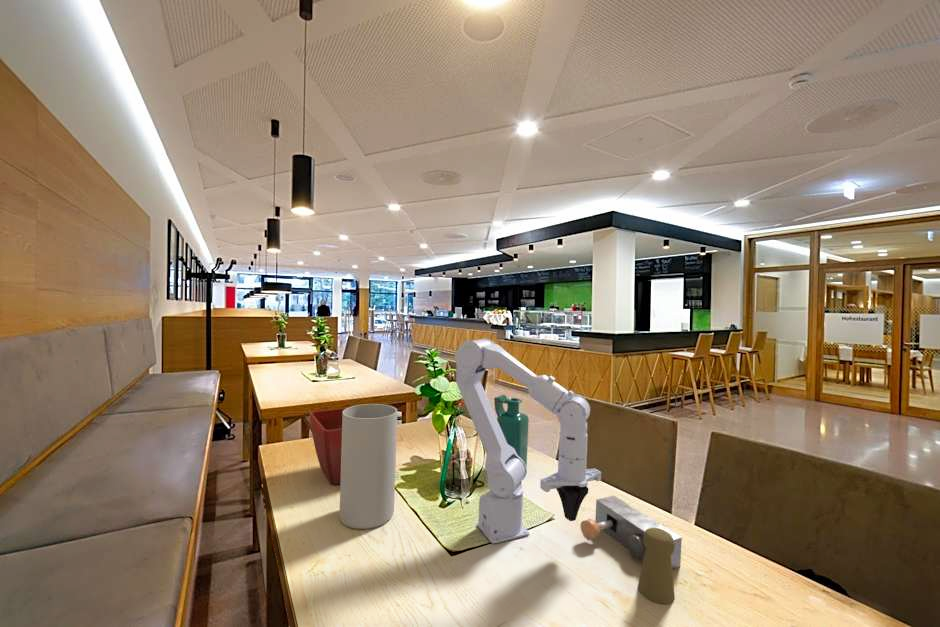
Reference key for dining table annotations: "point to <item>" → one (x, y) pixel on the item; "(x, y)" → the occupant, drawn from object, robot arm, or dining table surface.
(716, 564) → the dining table surface
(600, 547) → the dining table surface
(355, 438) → the cylinder vase
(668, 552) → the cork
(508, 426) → the green bottle
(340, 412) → the plant pot
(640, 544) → the gray knob
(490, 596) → the dining table surface
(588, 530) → the terracotta knob
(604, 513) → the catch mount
